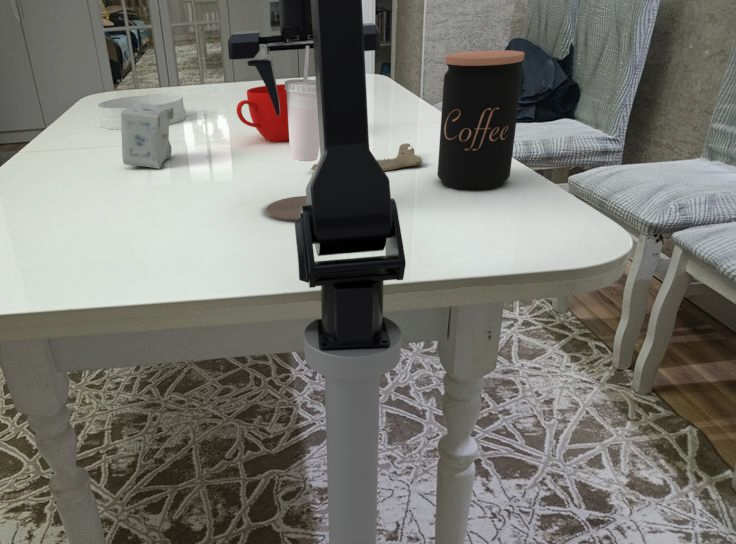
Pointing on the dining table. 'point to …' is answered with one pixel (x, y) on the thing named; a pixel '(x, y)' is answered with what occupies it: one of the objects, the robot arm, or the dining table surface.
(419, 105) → the dining table surface
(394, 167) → the jawbone
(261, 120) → the ceramic cup
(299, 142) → the smoothie
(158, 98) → the dish
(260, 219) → the dining table surface
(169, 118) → the incense holder
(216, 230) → the dining table surface
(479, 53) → the coffee jar
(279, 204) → the coaster
